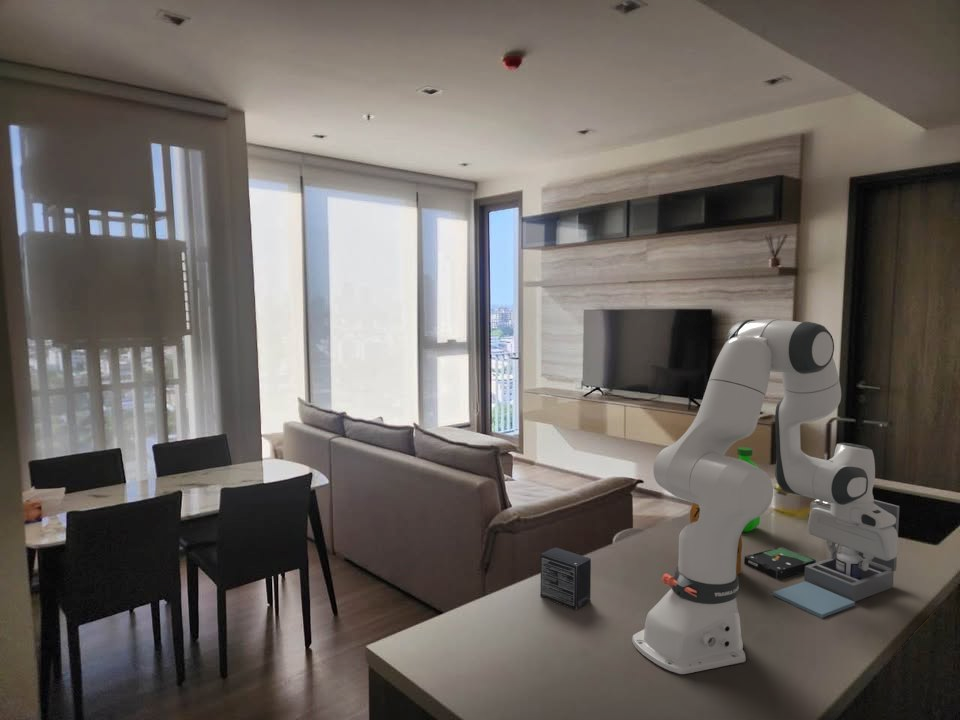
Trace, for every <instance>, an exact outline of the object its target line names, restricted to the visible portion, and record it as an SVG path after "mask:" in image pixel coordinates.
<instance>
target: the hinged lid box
mask: <svg viewBox="0 0 960 720" xmlns="http://www.w3.org/2000/svg"><path fill="white" fill-rule="evenodd" d="M874 504H876V505H877V506H879V507H880V508H882V509H883V510H885V511H887V512H888V513H890V514H892V515H893V516H895V518H896V523H895V524H894V525H892V526H893V527H894V528H895V529H896V531H897V535H898V536H899V524H900V523H899V522H900V521H899V519H900V505H896V504H892V503H888V502H886V501H885V502H884V501H881V500H877V499H874ZM835 546H836V549H837V551H838V550H839V549H840V545H839V544H835ZM858 555H859V556H861V558H862V561H864V559H865V558H866V557H863V553H862V552H859V554H858ZM897 557H898V556H897ZM897 557H895V558H894V559H891V560H888V561H885V560H882V559H879V558H877V557H874V558H873V559H872V560H871V562H870V563H869V567H868V570H867V571H863V570H862V578H861V580H858V579H855V578H853V577H850V576H847V575H845V574H842V573H840V572H837V571H836V560H834V559H831V558H826V559H823V560H821V561H816V563H814V564H810V565H807V566H805V571H804V577H803V578H804V581H803V582H805V581H806V582H809V583H811V584H813V585H816V586H818V587H821V588H823V589H825V590H828V591H830V592H832V593H835V594H837V595H839V596H842V597H844V598H847V599H849V600H851V601H854V602H855V603H856V602H858V601H861V600H863V599H865V598H868V597H871V596H874V595H876V594H879V593H882V592H884V591H887V590H889V589H893V588H894V574H895V573H894V572H896V571H897V561H898V559H897Z"/></svg>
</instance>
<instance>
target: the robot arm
mask: <svg viewBox="0 0 960 720" xmlns="http://www.w3.org/2000/svg"><path fill="white" fill-rule="evenodd" d="M834 352H835V341H834V338H833V335H832V334H831V332H830V331H829V330H828V329H827V327H825V325H822V324H819V323H816V322H811V321H803V322H801V321H794V320H785V319H784V320H783V319H779V318H778V319H777V318H770V319H768V318H767V319H756V320H755V319H746V320H742V321H739V322H736V323H735V324H734V325H732V326H731V328H730V329H729V331H728V332H727V335H726V337H725V341H724V344H723V346H722V348H721V350H720V352H719V353H718V356H717V357H716V360H715V362H714V365H713V367H712V370H711V372H710V375H709V379H708V382H707V385H706V387H705V388H706V389H705V390H704V391H705V392H704V393H703V398H702V401H701V403H700V406H699V409H698V410H697V414H696V416H695V417H694V419H693V421H692V422H691V425H690V426H689V427H688V428H687V430H686V431H685V432H684V433H683V435H682V436H681V437H680V438H678V439H677V440H676V441H675V442H674V443H672V444H670V445H668V446H666V447H664V448H663V449H661V451H660V452H659V453H658V454H657V456H656V457H655V460H654V462H653V477H654V478H653V479H654V480H655V482H656V483H657V485H658V486H659V487H660V488H662V489H664V490H665V491H667V492H668V493H670V494H671V495H672V496H674V497H676V498H678V499H682V500H684V501H688V502H690V503H692V504H693V503H695V504H698V505H699V507H700V514H699V518H698V521H696V522H693V523H691V524H690V523H689V524H687V525H686V526H684V527H683V529H682V530H681V531H680V533H679V536H678V566H677V567H676V569H675V572H674V575H673V576H671V574H669V573H664V574H663V576H662V577H661V580H662V583H663V584H665V585H667V586H669V587H670V589H669V590H668V591H667V592H666V593H665V595H663V597H662V598H661V599H660V600H659V601H658V602H657V603H656V604H655V605H654V606H653V607H652V608H651V609H650V610H649V611H648V613H647V615H646V618H645V623H644V628H643V629H642V630H640V631H638V632H636V633H634V634H633V635H632V638H631V639H632V640H631V641H632V644H633V646H634V647H635V648H636V650H638V652H639V653H641V655H643V656H644V657H646V658H647V659H648V660H649V661H651V662H652V663H654V664H655V665H657V666H659V667H661V668H663V669H665V670H667V671H669V672H673V673H675V674H678V675H686V674H691V673H695V672H697V673H698V672H702V671H706V670H710V669H716V668H721V667H726V666H730V665H736V664H741V663H745V662H746V653H745V651H744V650H743V648H744V642H743V639H742V629H741V617H740V613H739V608H738V604H737V597H738V595H739V589H740V584H739V576H738V575H737V574H736V565H737V551H738V543H739V538H740V536H741V537H742V533H743V532H742V531H743V529H744V528H745V526H746V525H747V524H748V523H749V522H750V521H751V520H753V519H755V518H757V517H759V516H760V517H761V516H762V515H763V514H764V513H766V511H767V510H768V509H769V507H770V505H771V503H772V501H773V496H774V487H773V483H772V479H771V477H770V476H769V473H767V472H766V471H765V470H763V469H761V468H760V467H759V466H758V467H759V468H758V467H756V466H754V465H752V464H750V463H748V462H746V461H744V460H740V459H739V458H735V457H732V456H728V455H726V454H727V451H728V450H729V448H731V446H733V445H734V444H735V443H736V442H738V441H740V440H744V439H745V438H748V437H749V436H751V435H752V434H754V432H755V430H756V428H757V425H758V421H759V418H760V414H761V413H762V408H763V404H764V400H765V398H766V394H767V391H768V387H769V382H770V376H771V372H773V373H780V374H781V380H782V385H783V391H784V393H783V397H782V398H781V399H780V400H779V401H778V402H777V403H776V408H775V413H774V414H775V416H774V419H775V420H774V421H775V422H774V426H775V445H776V446H775V447H776V449H775V451H776V459H775V461H776V463H775V467H774V477H775V480H776V482H777V484H778V486H779V487H780V488H781V490H782V491H783V492H784V493H787V494H792V495H796V496H797V495H799V496H804V497H808V498H810V499H815V500H813V501H811V502H810V505H809V517H808V522H807V531H808V534H810V535H811V536H814V537H817V538H819V539H822V540H825V541H826V543H825V544H826V546H827V548H828V551H829V553H830V558H831V559H834V560H836V557H837V553H839V552H840V551H838V550H837V549H836V546H835V545H836V544H839V546H840V545H842V546H845V547H848V548H851V549H854V550H856V551H859V552H862V553H863V557H866V558H865V559H864V561H861V562H858V565H859V566H858V569H860V570H863V571H867V570H868V567H869V563H870V562H871V560H872V559H873V558H874V557H877V558H879V559H882V560H885V561H888V560H891V559H894V558H895V557H898V556H899V555H898V554H899V538H898V537H899V534H898V535H897V531H896V529H895V528H894V527H893V526H892V525H894V524H895V523H896V518H895V516H893V515H892V514H890V513H888V512H887V511H885V510H883V509H882V508H880V507H879V506H877V505H876V504H874V500H875V499H874V494H873V489H874V485H875V480H876V463H875V456H874V452H873V449H871V448H870V447H867V446H865V445H860V444H855V443H848V442H840V443H837V444H836V445H835V449H834V453H833V457H831V458H829V459H822V458H818V457H814V456H810V455H809V454H806V453H805V452H804V451H803V450H802V449H801V446H802V445H801V425H803V424H807V423H814V422H816V421H820V420H822V419H824V418H826V417H828V416H829V415H831V414H832V413H834V412H835V411H836V410H837V408H838V407H839V405H840V403H841V399H842V387H841V383H840V377H839V375H838V374H839V373H838V369H837V366H836V362H835V359H834Z"/></svg>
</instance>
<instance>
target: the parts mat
mask: <svg viewBox="0 0 960 720" xmlns="http://www.w3.org/2000/svg"><path fill="white" fill-rule="evenodd" d="M772 596H774V597H775V598H778V599H780V600H782V601H784V602H787V603H789V604H791V605H793V606H795V607H797V608H799V609H801V610H803V611H805V612H808V613H810V614H812V615H814V616H816V617H819V618H820V619H822V618H826V617H829V616H831V615H833V614H836V613H839V612H841V611H844V610H846V609H850V608H852V607H854V606H855V604H856V602H854V601H851V600H849V599H847V598H844V597H842V596H839V595H837V594H835V593H832V592H830V591H828V590H825V589H823V588H821V587H818V586H816V585H813V584H811V583H809V582H806V581H805V582H804V581H802V582H799V583H796V584H793V585H790V586H787V587H784V588H781V589H778V590H776V591H773V592H772Z"/></svg>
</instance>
